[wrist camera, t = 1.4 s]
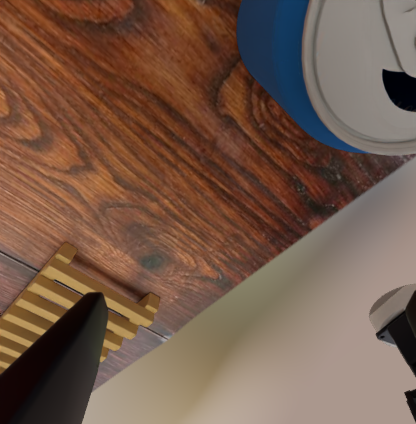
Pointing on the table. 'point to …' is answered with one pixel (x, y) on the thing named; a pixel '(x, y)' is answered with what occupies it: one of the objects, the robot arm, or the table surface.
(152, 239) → the table surface
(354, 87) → the beverage can
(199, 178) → the table surface
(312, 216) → the table surface
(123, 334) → the rack
